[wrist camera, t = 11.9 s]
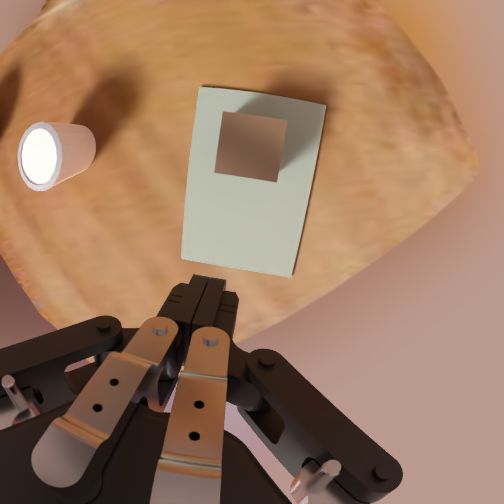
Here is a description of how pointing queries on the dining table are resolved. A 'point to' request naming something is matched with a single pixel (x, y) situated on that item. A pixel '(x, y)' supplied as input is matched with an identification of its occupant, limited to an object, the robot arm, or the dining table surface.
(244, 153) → the copper block
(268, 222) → the rubber mat
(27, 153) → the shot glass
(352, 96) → the dining table surface
